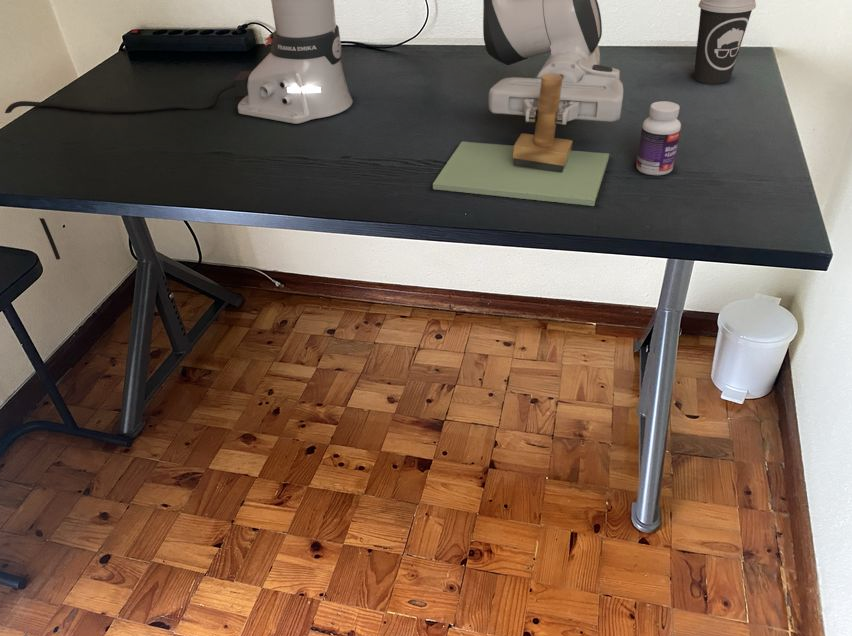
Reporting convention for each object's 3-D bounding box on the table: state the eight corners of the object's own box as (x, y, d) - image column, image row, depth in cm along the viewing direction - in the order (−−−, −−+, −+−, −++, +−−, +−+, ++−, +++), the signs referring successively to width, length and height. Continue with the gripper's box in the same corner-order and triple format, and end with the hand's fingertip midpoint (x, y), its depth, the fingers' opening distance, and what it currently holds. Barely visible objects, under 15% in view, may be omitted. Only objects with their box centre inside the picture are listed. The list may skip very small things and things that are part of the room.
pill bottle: (667, 179, 108) (678, 115, 102) (631, 172, 111) (640, 109, 105) (677, 164, 112) (689, 102, 106) (641, 158, 114) (651, 97, 108)
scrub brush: (511, 165, 112) (520, 79, 104) (519, 152, 116) (528, 67, 107) (563, 173, 110) (577, 86, 101) (569, 159, 114) (583, 74, 105)
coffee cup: (743, 73, 140) (763, -12, 131) (732, 89, 134) (752, 1, 125) (692, 67, 144) (708, -16, 135) (678, 83, 138) (694, -3, 129)
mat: (432, 189, 111) (432, 183, 110) (461, 146, 122) (461, 141, 122) (594, 206, 104) (594, 200, 103) (608, 159, 115) (609, 153, 114)
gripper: (499, 63, 119) (477, 92, 109) (630, 69, 112) (619, 101, 102) (498, 101, 123) (476, 133, 113) (624, 110, 116) (613, 144, 106)
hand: (545, 118), depth 107 cm, fingers closed on scrub brush, 3 cm apart
